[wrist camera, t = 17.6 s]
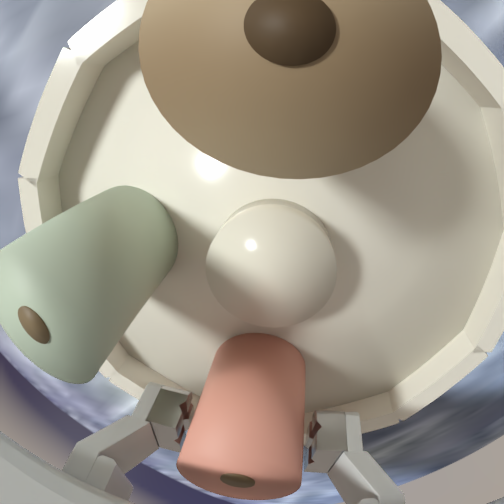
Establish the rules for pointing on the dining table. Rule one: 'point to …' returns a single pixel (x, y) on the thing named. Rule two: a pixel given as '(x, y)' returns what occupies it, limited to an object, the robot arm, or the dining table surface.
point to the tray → (294, 232)
